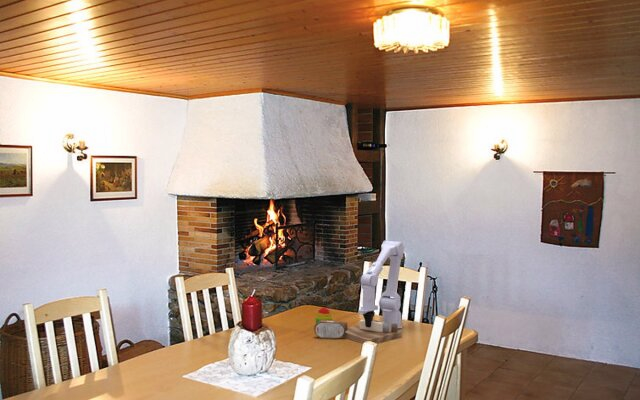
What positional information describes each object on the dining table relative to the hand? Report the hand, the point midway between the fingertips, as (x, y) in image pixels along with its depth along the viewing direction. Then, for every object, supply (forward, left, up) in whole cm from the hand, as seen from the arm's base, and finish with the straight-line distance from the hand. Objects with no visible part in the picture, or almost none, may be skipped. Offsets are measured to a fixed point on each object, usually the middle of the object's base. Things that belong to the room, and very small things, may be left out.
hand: (368, 326), depth 283 cm
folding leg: (-3, +2, -2) cm, 4 cm away
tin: (+16, -9, -5) cm, 19 cm away
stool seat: (-1, 0, -5) cm, 5 cm away
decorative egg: (+6, -26, -5) cm, 27 cm away
